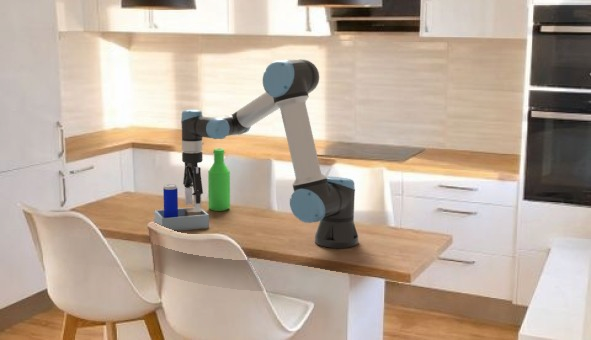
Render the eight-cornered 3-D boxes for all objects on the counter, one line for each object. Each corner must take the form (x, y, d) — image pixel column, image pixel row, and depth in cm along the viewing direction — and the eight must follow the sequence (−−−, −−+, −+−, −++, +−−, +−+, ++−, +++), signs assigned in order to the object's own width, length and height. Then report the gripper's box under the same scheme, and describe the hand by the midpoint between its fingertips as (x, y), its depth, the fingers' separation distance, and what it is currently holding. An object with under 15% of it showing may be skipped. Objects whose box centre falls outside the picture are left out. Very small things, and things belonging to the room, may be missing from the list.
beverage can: (180, 224, 281) (180, 185, 278) (173, 227, 276) (172, 187, 273) (169, 222, 283) (168, 183, 280) (161, 225, 278) (160, 186, 276)
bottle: (211, 212, 303) (211, 151, 298) (206, 207, 311) (205, 148, 306) (232, 210, 306) (232, 150, 301) (226, 205, 314) (226, 147, 309)
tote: (209, 227, 278) (209, 214, 277) (162, 232, 272) (162, 218, 271) (199, 219, 291) (199, 206, 290) (154, 223, 284) (154, 210, 283)
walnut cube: (201, 223, 281) (201, 211, 280) (188, 225, 280) (187, 212, 279) (197, 220, 286) (197, 208, 285) (185, 221, 284) (184, 209, 283)
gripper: (211, 156, 268) (211, 214, 272) (193, 146, 290) (194, 200, 294) (190, 157, 265) (191, 216, 269) (174, 147, 287) (175, 201, 291)
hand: (193, 207), depth 282 cm, fingers open, 12 cm apart
